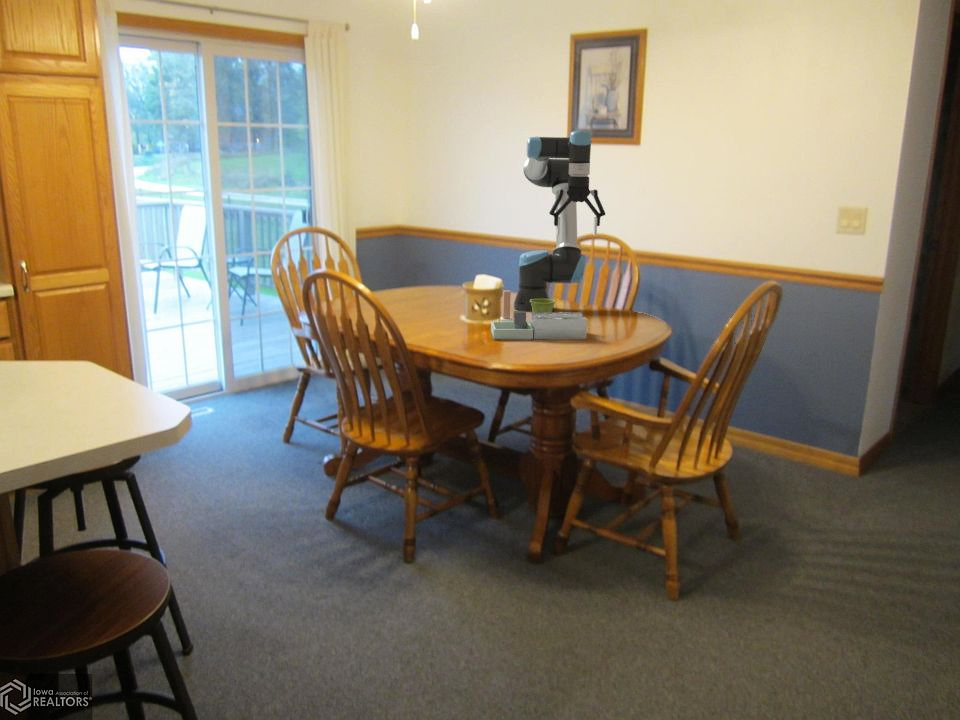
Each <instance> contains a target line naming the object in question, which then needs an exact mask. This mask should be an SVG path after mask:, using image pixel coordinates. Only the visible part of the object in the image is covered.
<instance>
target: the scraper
mask: <svg viewBox="0 0 960 720" xmlns="http://www.w3.org/2000/svg"><path fill="white" fill-rule="evenodd" d="M502 294H503V296H502V299H503V300H502V316H500V319H499V320H500V321H499V322H513V317H512V316H511V296H512V295H511V290H503V293H502Z"/></svg>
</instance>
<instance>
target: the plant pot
mask: <svg viewBox="0 0 960 720" xmlns="http://www.w3.org/2000/svg"><path fill="white" fill-rule="evenodd" d="M530 302H531V306H532V311H531V312H553V309H554V305H555V303H556V300H555V299H550V298H549V299H531V300H530Z"/></svg>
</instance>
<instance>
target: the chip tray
mask: <svg viewBox="0 0 960 720" xmlns="http://www.w3.org/2000/svg"><path fill="white" fill-rule="evenodd" d="M526 322H527V324H528V329H515V324H514V322H513V321H512V322H500V321H490V332H491V336H492V338H493V340H495V341H496V340H497V341H500V340H503V341H504V340H510V341H511V340H517V341H518V340H519V341H521V340H522V341H523V340H527V341H528V340H529V341H530V340H534V338H533V328H532V326H531V325H530V321H526Z"/></svg>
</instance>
